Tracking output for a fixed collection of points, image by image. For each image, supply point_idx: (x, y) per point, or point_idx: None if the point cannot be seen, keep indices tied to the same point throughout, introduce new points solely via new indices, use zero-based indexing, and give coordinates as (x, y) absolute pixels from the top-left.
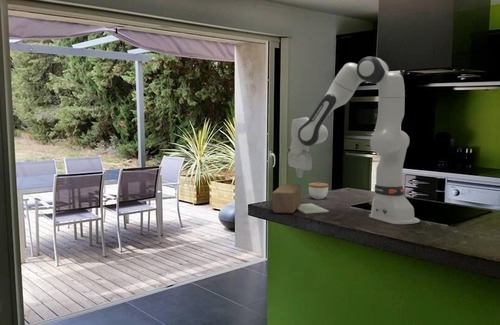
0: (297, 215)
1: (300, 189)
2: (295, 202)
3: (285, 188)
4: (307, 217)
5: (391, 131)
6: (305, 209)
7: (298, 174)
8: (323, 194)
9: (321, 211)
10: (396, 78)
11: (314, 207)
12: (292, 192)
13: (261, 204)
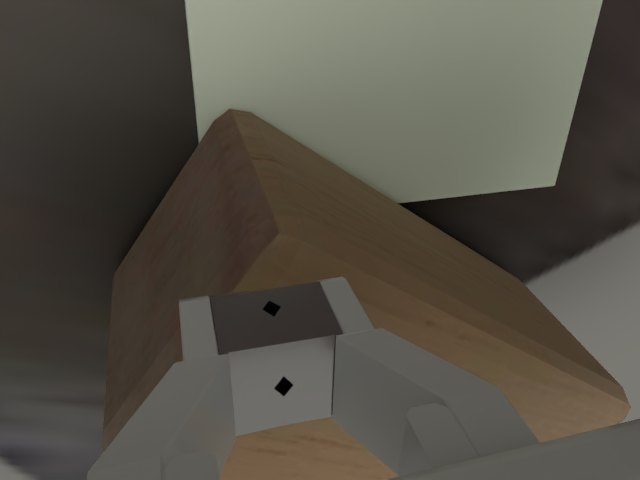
0: (554, 255)
1: (304, 200)
2: (506, 287)
3: None
4: (637, 206)
5: None
6: (464, 144)
7: (305, 411)
8: None
9: (595, 18)
10: None
11: (426, 4)
12: (628, 405)
13: (72, 437)
